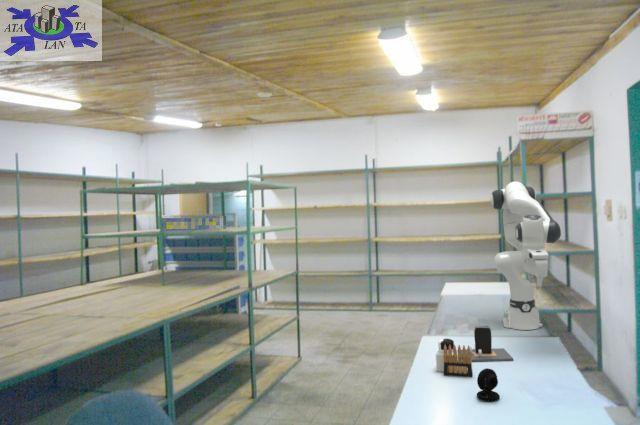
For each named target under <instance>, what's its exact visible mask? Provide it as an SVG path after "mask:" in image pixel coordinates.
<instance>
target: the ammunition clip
mask: <svg viewBox="0 0 640 425" xmlns="http://www.w3.org/2000/svg"><path fill="white" fill-rule="evenodd" d="M470 347H471V346H470V345H469V344H468V345H467V356H466V346H465V345H463V346H462V347H461V345H460V344H458V347H456V344H454V347H453V356H452V349H451V345H449V352H448V353H449V354H447V347H446V345H444V372H443V376H448V377H449V376H450V377H461V378H462V377H463V378H473V376H474V375H473V374H474V373H473V365H472V363H473V362H472V360H471V352H470ZM461 348H462V349H461ZM456 350H458V351H457V352H456ZM461 350H463V355H461ZM448 366H449V368H448ZM453 369H454V371H453Z"/></svg>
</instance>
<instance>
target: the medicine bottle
mask: <svg viewBox="0 0 640 425" xmlns="http://www.w3.org/2000/svg"><path fill="white" fill-rule="evenodd" d="M437 342H438V350H437V352H436V354H435V363H436V372H440V373H444V345H446V347H447V354H449V353H448V352H449V345H451V349H452V356H453V347H454V345H455V343H454V342H455V341H454V340H453V339H451V338H441V339H439V340H438V341H437ZM457 350H458V349H456V352H457V353H458V351H457ZM448 368H449V366H448ZM453 371H454V369H453Z"/></svg>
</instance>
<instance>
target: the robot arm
mask: <svg viewBox="0 0 640 425" xmlns="http://www.w3.org/2000/svg"><path fill="white" fill-rule="evenodd" d="M536 194H537V193H536V191H535V189H534V188H533V187H532V186H525V185H524V184H523V183H522V182H520V181H512V182H511V181H510V183H508V184H507V185H506V186H505V188H502V189H501V188H500V189H498V188H497V189H495V190H493V191H492V192H491V194H490V203H491V206H492V207H493V209H495V210H498V211H499V210H501V211H502V210H503V213H502V222H503V223H502V224H503V229H504V230H503V232H504V237H505V238H504V239H505V241H506V242H507V243H508V244H509V245H511V246H514V247H515V248H516V249H517V250H506V251H502V252H498V253H496V255H495V256H494V259H493V265H494V268H495V269H496V270H497V272H499V273H501V274H502V275H503V276H504V277H505V279H506V281H507V283H508V286H509V291H510V292H509V293H510V295H509V296H510V298H509V307H508V308H507V310H506V312H503V319H502V323H503V327H504V328H508V329H513V330H519V331H522V330H523V331H531V330H532V331H533V330H537V329H539V328H541V327H543V323H541V322H540V314H539V310H538V308H536V300H535V297H534V296H535V295H534V294H535V293H534V292H535V291H534V285H533V284H534V283H535V284H536V287H538V288H542V287H543V280H544V278H547V277H548V274H549V273H548V272H549V271H548V270H549V268H548V267H549V263H548V262H549V261H548V259H549V257H550V255H549V253H548V252H547V250H546V245H545V244H555V243H556V242H557V241H559V239H560V238H561V235H562V231H561V226H560V224H559V223H558V222H557V221H556V220H555V219H553V217H552V215H551V214H550V213H549V211H548V210H547V209H546V208H545V206H544V205H543V204H542V203H541V202H540V201H538V200H536V199H537V195H536ZM521 273H527V277H528V279H526V278H523V277H522V276H521ZM534 276H535V277H536V282H535V279H534ZM504 317H505V318H504Z"/></svg>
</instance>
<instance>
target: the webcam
mask: <svg viewBox="0 0 640 425" xmlns="http://www.w3.org/2000/svg"><path fill="white" fill-rule="evenodd" d="M476 383H477V387H478V388H479V389H480V390H479V391H478V392H477V393H476V398H477V399H478V400H480V401H483V402H489V403H490V402H491V403H492V402H496V401H499V400H500V394H499V393H498V392H496V391H493V390H494V389H495V388H497V386H498V384H499V379H498V375H497V372H495V370H494V369H491V368H484V369H482V370H481V371H480V372H479V373H478V375H477V379H476ZM484 395H486V396H484Z"/></svg>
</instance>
